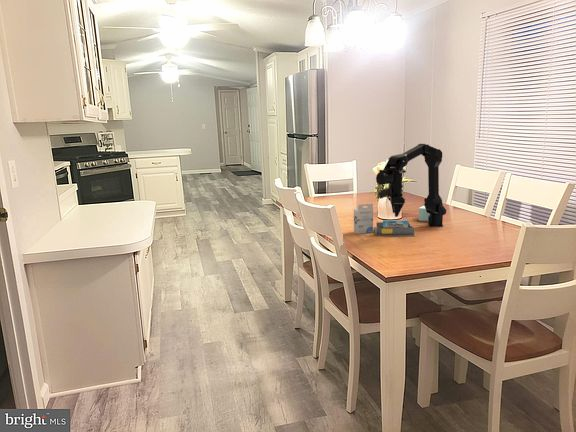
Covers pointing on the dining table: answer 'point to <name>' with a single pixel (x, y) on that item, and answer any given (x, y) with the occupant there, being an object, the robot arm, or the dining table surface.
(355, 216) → the ink box
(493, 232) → the dining table surface
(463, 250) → the dining table surface
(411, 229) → the rack
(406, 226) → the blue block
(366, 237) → the dining table surface
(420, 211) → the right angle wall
